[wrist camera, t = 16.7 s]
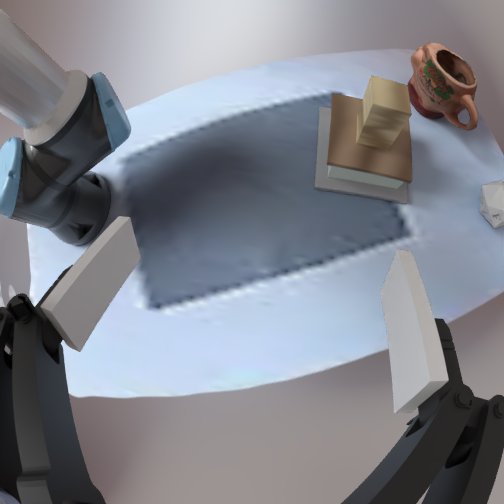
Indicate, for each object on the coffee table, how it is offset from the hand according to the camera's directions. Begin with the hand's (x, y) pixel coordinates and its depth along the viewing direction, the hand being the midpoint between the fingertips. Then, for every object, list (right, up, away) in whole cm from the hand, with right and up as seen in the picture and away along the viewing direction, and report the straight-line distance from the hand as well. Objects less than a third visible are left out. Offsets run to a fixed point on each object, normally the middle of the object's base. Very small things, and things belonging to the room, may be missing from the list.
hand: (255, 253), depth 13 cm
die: (+45, +8, +26) cm, 53 cm away
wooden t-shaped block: (+18, +18, +24) cm, 35 cm away
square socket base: (+19, +17, +30) cm, 39 cm away
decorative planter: (+37, +30, +30) cm, 56 cm away
